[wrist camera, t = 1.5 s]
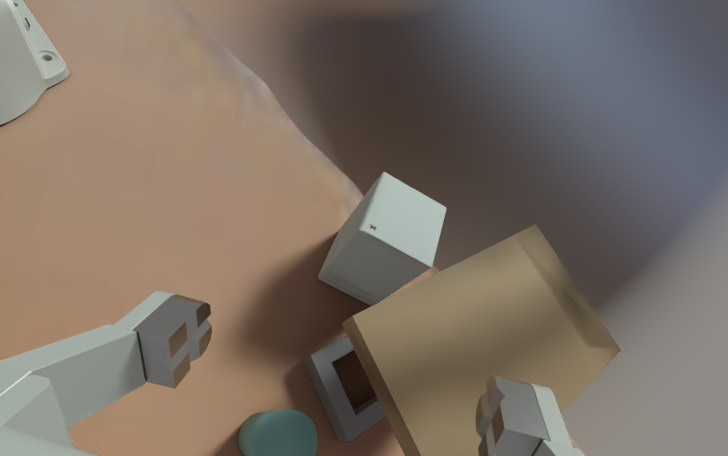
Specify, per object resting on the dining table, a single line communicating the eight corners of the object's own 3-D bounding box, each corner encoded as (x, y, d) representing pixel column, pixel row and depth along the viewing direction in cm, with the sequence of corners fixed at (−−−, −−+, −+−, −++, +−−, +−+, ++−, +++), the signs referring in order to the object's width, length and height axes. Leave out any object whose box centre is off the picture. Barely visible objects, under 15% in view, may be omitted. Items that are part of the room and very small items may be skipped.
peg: (231, 427, 30) (247, 431, 21) (271, 404, 32) (302, 398, 23) (247, 470, 30) (271, 495, 20) (287, 444, 31) (327, 455, 22)
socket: (302, 359, 35) (310, 354, 33) (367, 324, 39) (378, 318, 37) (338, 440, 33) (349, 442, 31) (402, 395, 37) (417, 393, 35)
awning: (271, 369, 34) (352, 315, 16) (393, 306, 41) (535, 224, 24) (312, 466, 31) (456, 527, 14) (431, 380, 39) (620, 350, 22)
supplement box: (372, 308, 40) (432, 271, 30) (314, 278, 39) (356, 229, 29) (391, 256, 45) (449, 207, 34) (339, 227, 43) (383, 168, 33)
